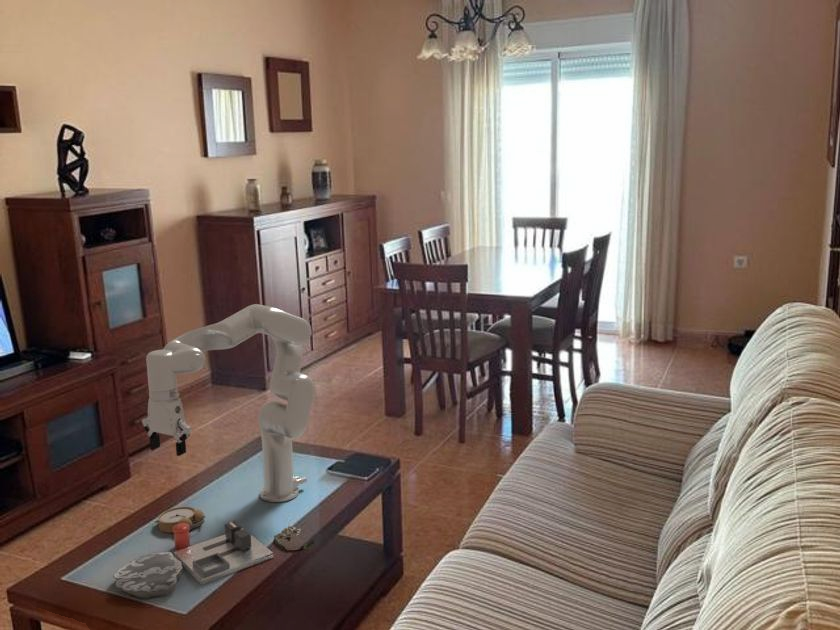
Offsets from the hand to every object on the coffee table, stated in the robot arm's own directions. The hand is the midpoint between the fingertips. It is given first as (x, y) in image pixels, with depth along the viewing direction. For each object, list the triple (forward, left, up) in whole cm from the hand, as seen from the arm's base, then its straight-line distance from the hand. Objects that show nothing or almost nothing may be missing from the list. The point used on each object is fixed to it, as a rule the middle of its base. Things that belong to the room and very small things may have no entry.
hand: (168, 451), depth 214 cm
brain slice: (+14, +18, -28) cm, 36 cm away
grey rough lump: (-26, +24, -28) cm, 45 cm away
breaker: (-12, +20, -25) cm, 34 cm away
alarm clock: (-5, -6, -27) cm, 28 cm away
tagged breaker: (-12, +14, -25) cm, 31 cm away
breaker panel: (-6, +19, -27) cm, 34 cm away
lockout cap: (0, +6, -27) cm, 28 cm away
